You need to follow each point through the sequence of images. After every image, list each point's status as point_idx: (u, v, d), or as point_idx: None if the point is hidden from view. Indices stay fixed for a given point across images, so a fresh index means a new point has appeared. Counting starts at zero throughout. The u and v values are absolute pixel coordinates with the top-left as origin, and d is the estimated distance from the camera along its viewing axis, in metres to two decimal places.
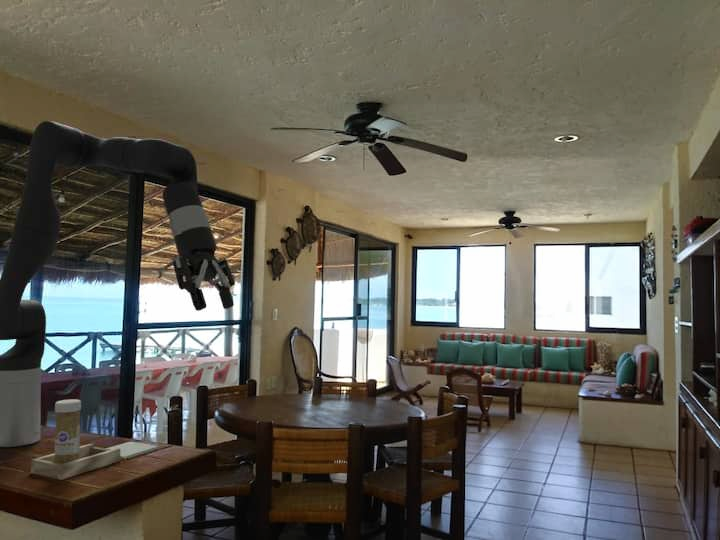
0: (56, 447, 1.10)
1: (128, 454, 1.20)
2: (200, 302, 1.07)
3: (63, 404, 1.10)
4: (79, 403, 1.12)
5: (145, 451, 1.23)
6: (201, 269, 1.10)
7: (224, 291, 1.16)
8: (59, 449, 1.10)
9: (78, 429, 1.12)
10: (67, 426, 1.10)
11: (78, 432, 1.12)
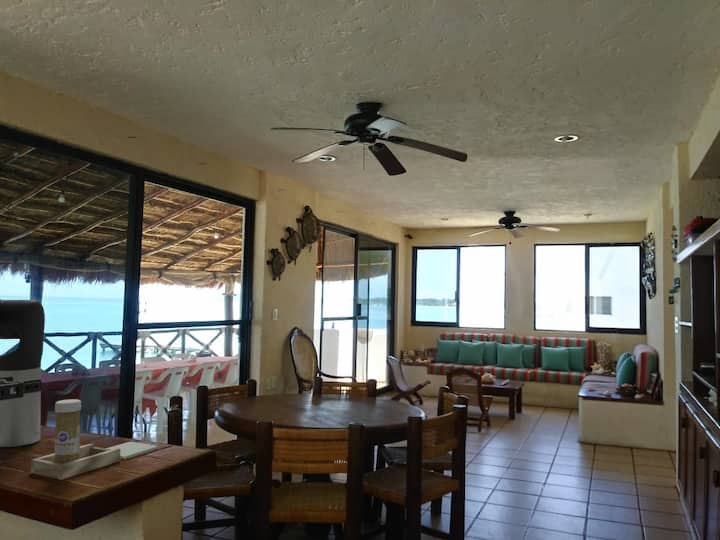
0: (56, 447, 1.10)
1: (128, 454, 1.20)
2: None
3: (63, 404, 1.10)
4: (79, 403, 1.12)
5: (145, 451, 1.23)
6: None
7: None
8: (59, 449, 1.10)
9: (78, 429, 1.12)
10: (67, 426, 1.10)
11: (78, 432, 1.12)
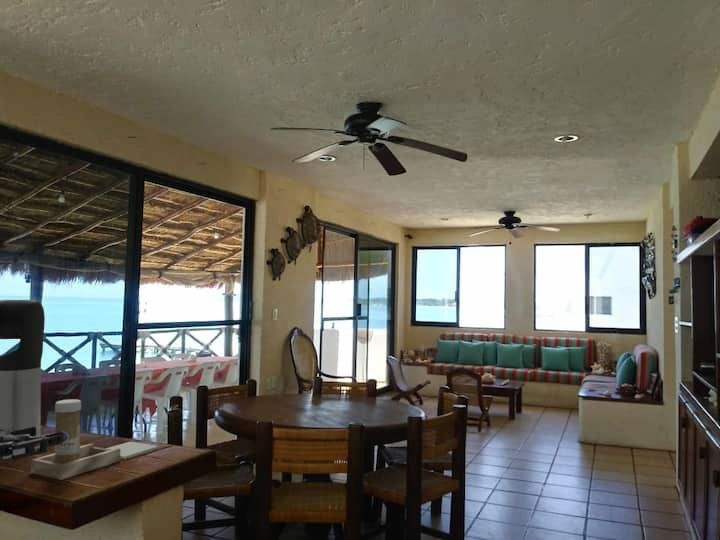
0: (56, 447, 1.10)
1: (128, 454, 1.20)
2: None
3: (63, 404, 1.10)
4: (79, 403, 1.12)
5: (145, 451, 1.23)
6: None
7: None
8: (59, 449, 1.10)
9: (78, 429, 1.12)
10: (67, 426, 1.10)
11: (78, 432, 1.12)
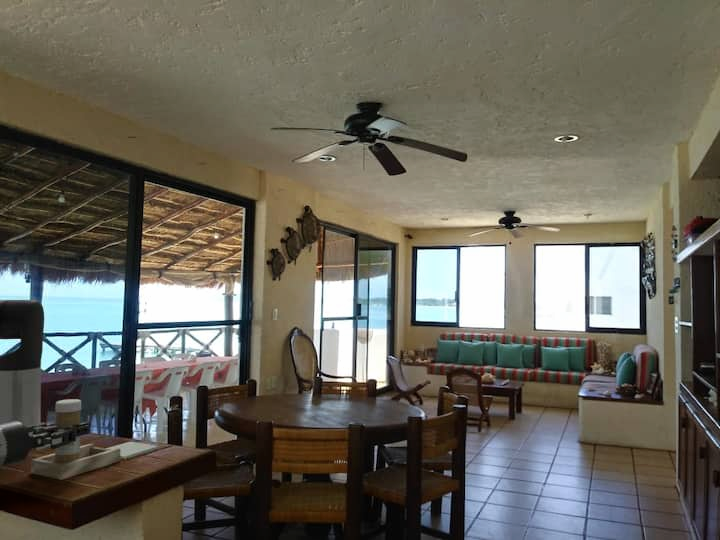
0: None
1: (128, 454, 1.20)
2: None
3: (63, 404, 1.10)
4: (79, 403, 1.12)
5: (145, 451, 1.23)
6: None
7: None
8: (59, 448, 1.10)
9: None
10: None
11: None
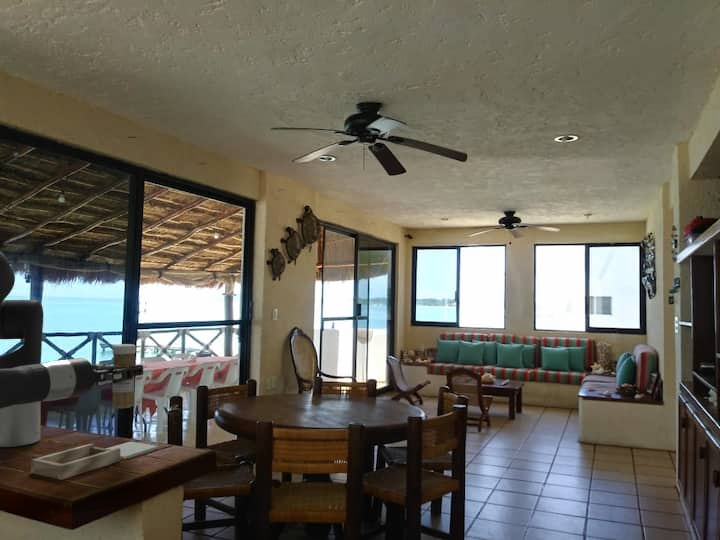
0: (113, 385, 1.22)
1: (128, 454, 1.20)
2: None
3: (121, 346, 1.22)
4: (134, 347, 1.24)
5: (145, 451, 1.23)
6: None
7: None
8: (117, 387, 1.22)
9: None
10: (124, 366, 1.22)
11: None
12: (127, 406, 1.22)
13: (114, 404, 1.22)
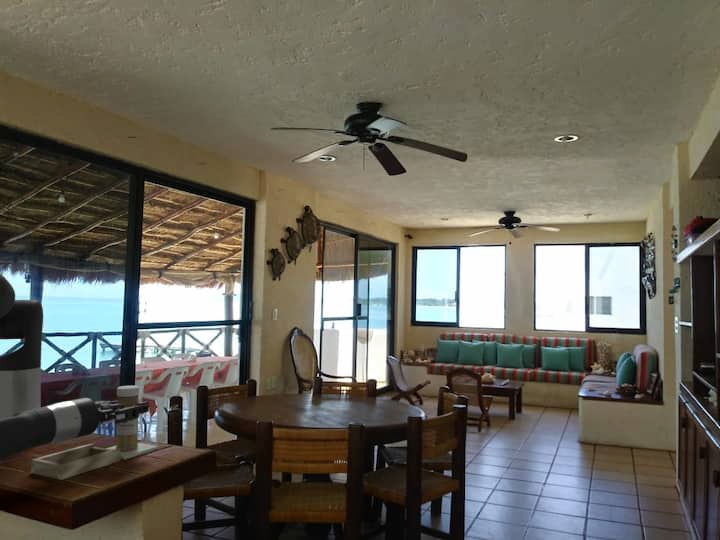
0: (117, 427, 1.23)
1: (128, 454, 1.20)
2: None
3: (125, 389, 1.23)
4: (138, 389, 1.25)
5: (145, 451, 1.23)
6: None
7: None
8: (121, 429, 1.22)
9: None
10: None
11: None
12: (131, 448, 1.23)
13: (118, 446, 1.22)
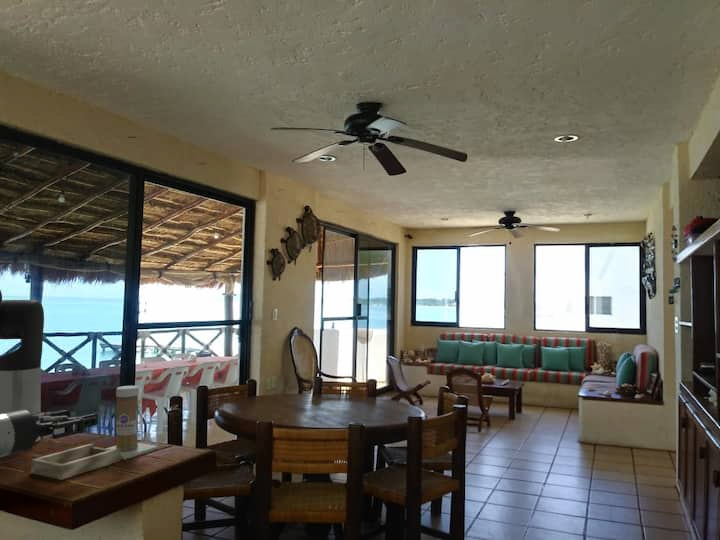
0: (117, 428, 1.23)
1: (128, 454, 1.20)
2: None
3: (124, 389, 1.22)
4: (137, 389, 1.25)
5: (145, 451, 1.23)
6: None
7: None
8: (121, 429, 1.22)
9: (137, 412, 1.24)
10: (128, 409, 1.23)
11: (137, 414, 1.24)
12: (131, 448, 1.23)
13: (118, 447, 1.22)
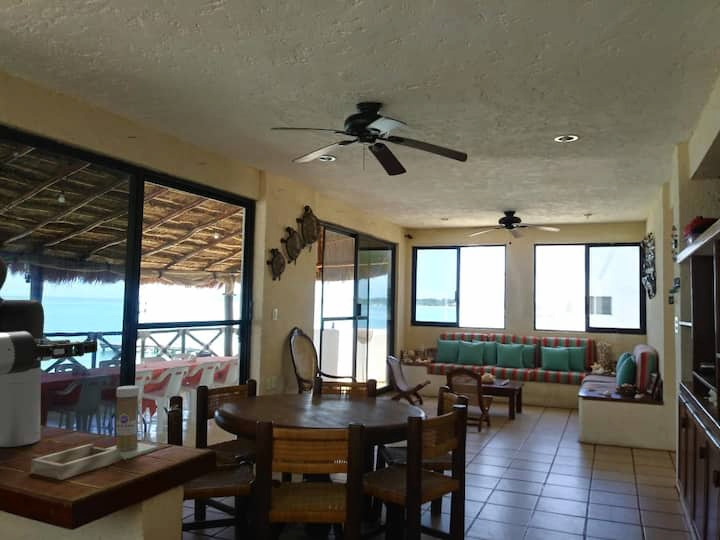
0: (117, 428, 1.23)
1: (128, 454, 1.20)
2: None
3: (124, 389, 1.22)
4: (138, 389, 1.25)
5: (145, 451, 1.23)
6: None
7: None
8: (121, 429, 1.22)
9: (137, 412, 1.24)
10: (128, 409, 1.23)
11: (137, 415, 1.24)
12: (131, 448, 1.23)
13: (118, 447, 1.22)
